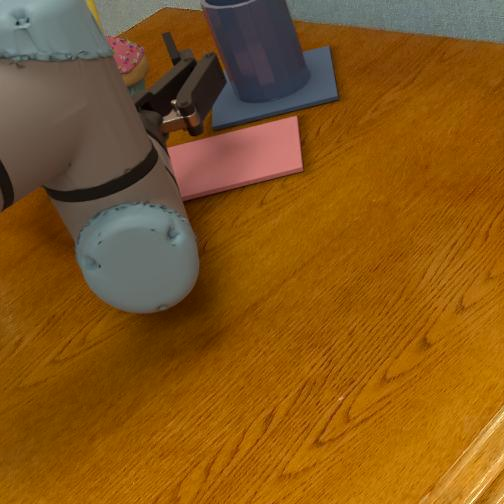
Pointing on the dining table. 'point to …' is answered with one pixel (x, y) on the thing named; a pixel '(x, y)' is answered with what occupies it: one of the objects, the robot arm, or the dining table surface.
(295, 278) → the dining table surface
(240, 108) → the blue mat
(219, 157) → the rose mat
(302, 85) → the blue cup
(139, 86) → the cupcake
